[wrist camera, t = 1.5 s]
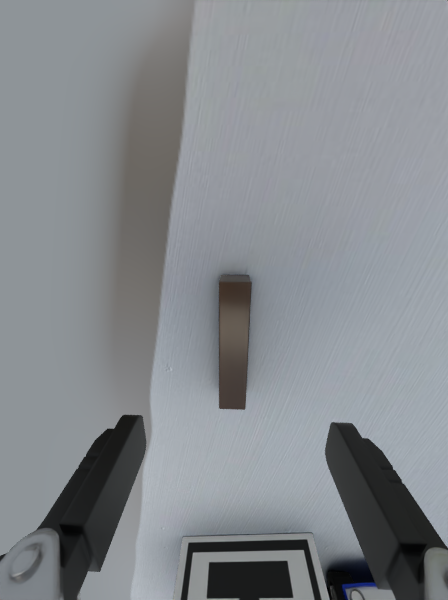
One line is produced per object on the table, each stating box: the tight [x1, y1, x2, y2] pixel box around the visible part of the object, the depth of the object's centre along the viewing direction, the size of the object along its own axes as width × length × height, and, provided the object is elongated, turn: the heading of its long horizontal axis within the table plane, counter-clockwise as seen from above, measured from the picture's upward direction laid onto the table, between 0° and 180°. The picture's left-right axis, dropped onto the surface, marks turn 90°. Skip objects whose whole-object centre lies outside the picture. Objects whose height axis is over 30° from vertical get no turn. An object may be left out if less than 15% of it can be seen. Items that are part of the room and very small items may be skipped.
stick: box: [219, 275, 252, 410], centre depth 16 cm, size 2×10×2 cm, turn 0°
